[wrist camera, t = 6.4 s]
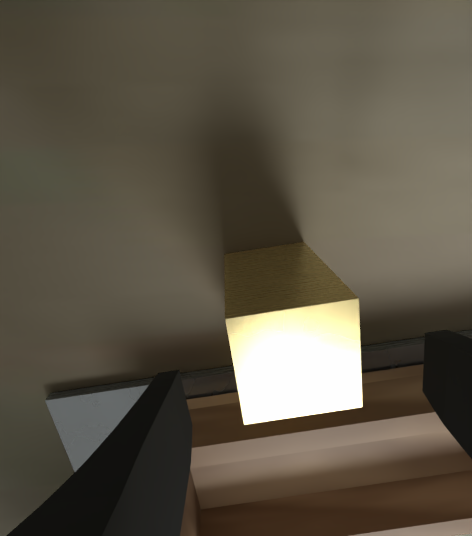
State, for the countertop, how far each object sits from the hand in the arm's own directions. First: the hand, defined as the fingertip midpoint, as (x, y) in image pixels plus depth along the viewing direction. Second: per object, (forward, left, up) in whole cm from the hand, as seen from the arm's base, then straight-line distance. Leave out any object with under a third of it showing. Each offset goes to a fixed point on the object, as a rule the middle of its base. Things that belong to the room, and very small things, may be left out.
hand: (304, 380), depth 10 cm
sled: (-10, -3, -7) cm, 13 cm away
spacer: (0, 0, -8) cm, 8 cm away
